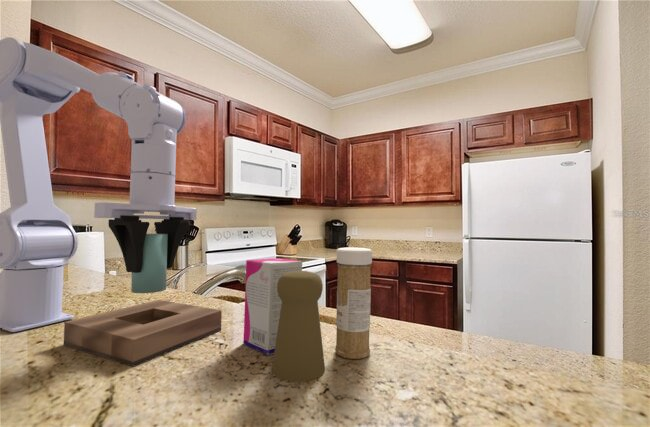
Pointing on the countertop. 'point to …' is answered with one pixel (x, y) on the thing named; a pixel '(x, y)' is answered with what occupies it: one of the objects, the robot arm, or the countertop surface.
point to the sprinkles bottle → (353, 302)
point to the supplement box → (264, 301)
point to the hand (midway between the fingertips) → (150, 269)
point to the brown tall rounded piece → (299, 328)
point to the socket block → (141, 330)
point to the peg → (152, 266)
